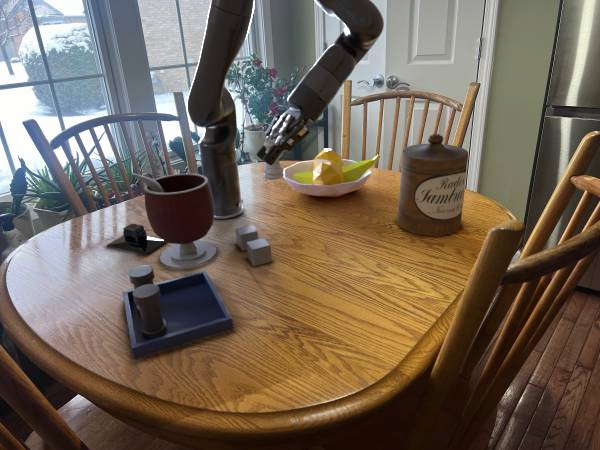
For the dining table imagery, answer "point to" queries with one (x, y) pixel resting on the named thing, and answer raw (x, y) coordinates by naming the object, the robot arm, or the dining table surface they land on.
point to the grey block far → (245, 236)
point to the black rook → (141, 277)
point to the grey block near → (259, 252)
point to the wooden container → (432, 187)
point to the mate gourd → (181, 216)
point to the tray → (180, 314)
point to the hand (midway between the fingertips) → (263, 160)
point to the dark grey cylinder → (150, 311)
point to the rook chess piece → (275, 169)
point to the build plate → (136, 240)
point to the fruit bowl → (328, 174)
